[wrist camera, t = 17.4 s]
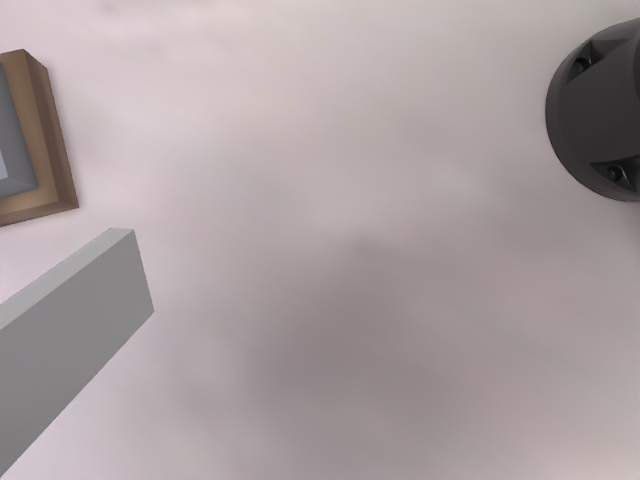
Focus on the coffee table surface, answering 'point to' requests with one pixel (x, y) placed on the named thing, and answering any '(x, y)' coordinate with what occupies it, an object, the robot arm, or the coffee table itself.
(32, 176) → the slate top block
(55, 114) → the walnut base block
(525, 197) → the coffee table surface
